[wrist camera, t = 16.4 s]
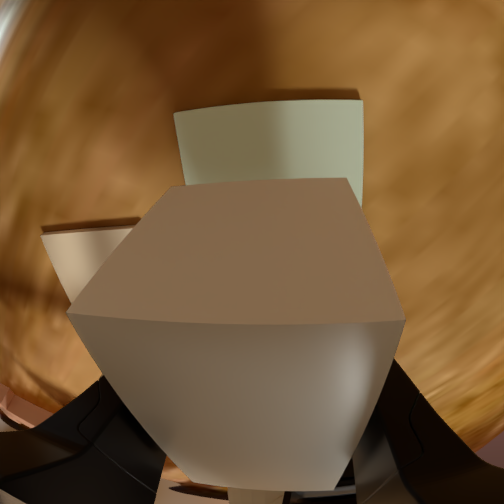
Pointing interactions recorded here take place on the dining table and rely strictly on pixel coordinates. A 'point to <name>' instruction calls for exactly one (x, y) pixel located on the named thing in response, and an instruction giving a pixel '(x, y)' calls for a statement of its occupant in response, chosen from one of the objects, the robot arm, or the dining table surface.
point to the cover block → (247, 329)
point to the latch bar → (21, 409)
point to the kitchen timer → (254, 496)
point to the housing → (81, 254)
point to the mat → (273, 141)
